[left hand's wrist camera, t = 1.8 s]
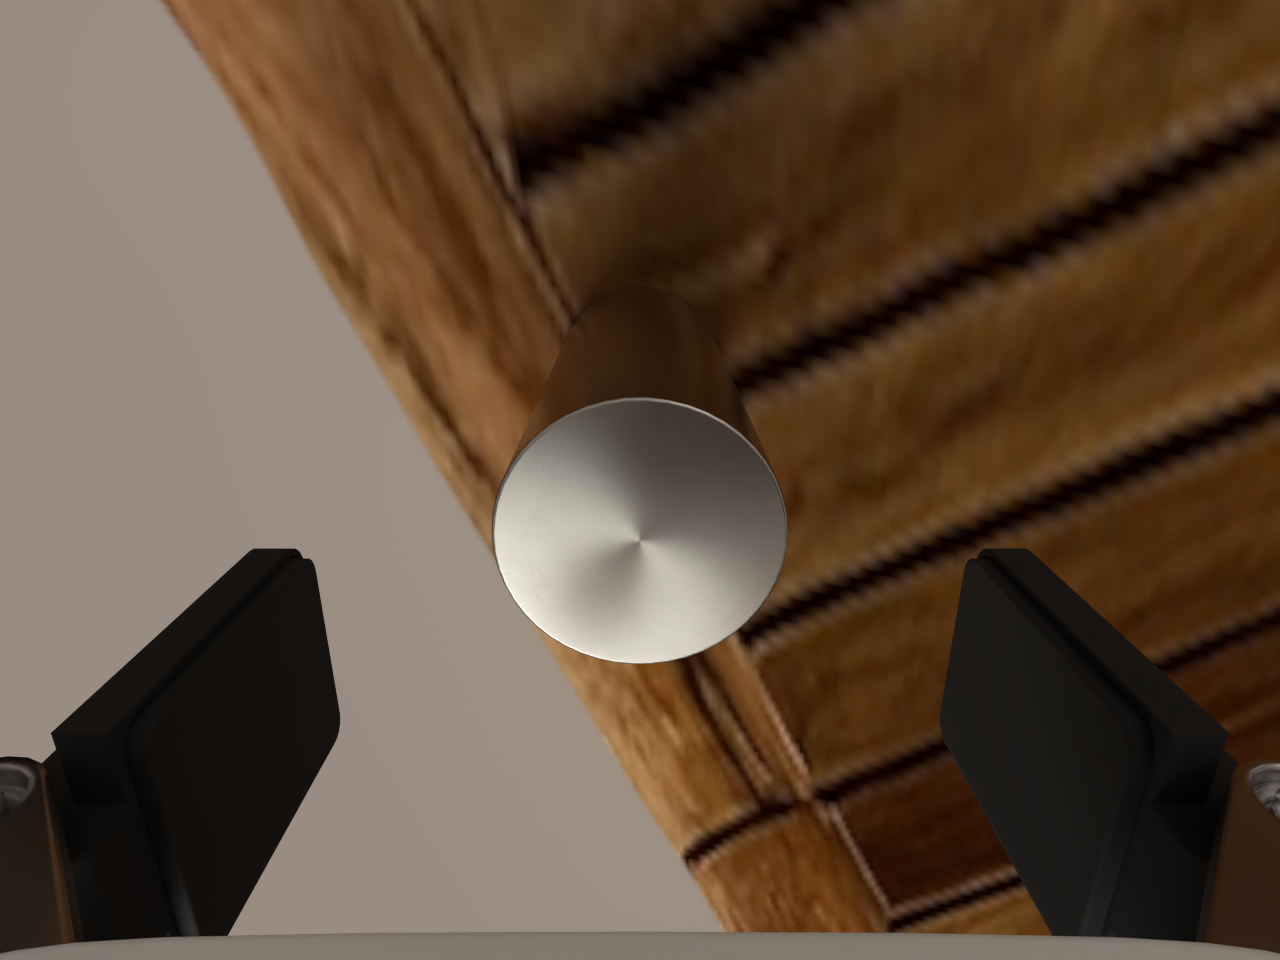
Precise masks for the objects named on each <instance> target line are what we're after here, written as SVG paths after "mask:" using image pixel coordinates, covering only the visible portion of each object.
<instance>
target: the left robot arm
mask: <svg viewBox="0 0 1280 960" xmlns="http://www.w3.org/2000/svg"><path fill="white" fill-rule="evenodd" d="M339 727H340V712H339V706H338V700H337V694H336V688H335V682H334V676H333V670H332V664H331V658H330V652H329V646H328V641H327V635H326V629H325V623H324V617H323V611H322V605H321V599H320V593H319V587H318V581H317V575H316V570H315V566H314V564H313V562H312V560H310V559H303V557H302V555H301V553H300V552H299V551H298V550H297V549H253V550H251V551H249V552H248V553H247V554H246V555H245V556H244V557H243V558H242V559H241V560H239V561H238V562H237V563H236V564H235V565H234V566H233V567H232V568H231V569H230V570H229V571H227V572H226V573H225V574H224V575H223V576H222V577H221V578H220V579H219V580H218V581H217V582H215V583H214V584H213V585H212V586H211V587H210V588H209V589H208V590H207V591H206V592H204V593H203V594H202V595H201V596H200V597H199V598H198V599H197V600H196V601H195V602H194V603H193V604H191V605H190V606H189V607H188V608H187V609H186V610H185V611H184V612H183V613H182V614H181V615H179V616H178V617H177V618H176V619H175V620H174V621H173V622H172V623H171V624H170V625H168V626H167V627H166V628H165V629H164V630H163V631H162V632H161V633H160V634H159V635H158V636H157V637H155V638H154V639H153V640H152V641H151V642H150V643H149V644H148V645H147V646H146V647H144V648H143V649H142V650H141V651H140V652H139V653H138V654H137V655H136V656H135V657H134V658H132V659H131V660H130V661H129V662H128V663H127V664H126V665H125V666H124V667H123V668H122V669H120V670H119V671H118V672H117V673H116V674H115V675H114V676H113V677H112V678H111V679H110V680H108V681H107V682H106V683H105V684H104V685H103V686H102V687H101V688H100V689H99V690H97V691H96V692H95V693H94V694H93V695H92V696H91V697H90V698H89V699H88V700H87V701H85V702H84V703H83V704H82V705H81V706H80V707H79V708H78V709H77V710H76V711H75V712H74V713H72V714H71V715H70V716H69V717H68V718H67V719H66V720H65V721H64V722H63V723H61V724H60V725H59V726H58V727H57V728H56V729H55V730H54V731H53V732H52V733H51V735H52V738H53V741H54V744H55V747H56V750H55V751H54V752H53V753H52V754H51V755H50V756H49V757H48V758H47V759H46V760H45V761H44V762H43V763H39V762H37V761H35V760H32V759H30V758H26V757H10V756H8V757H0V960H1280V757H1272V756H1270V757H1254V758H1250V759H1247V760H1245V761H1243V762H1241V763H1237V762H1236V761H1235V760H1234V759H1233V758H1232V757H1231V756H1230V755H1229V754H1228V753H1227V752H1226V751H1225V750H1224V747H1225V744H1226V741H1227V738H1228V735H1229V733H1228V732H1227V731H1226V730H1225V729H1224V728H1223V727H1222V726H1221V725H1220V724H1219V723H1217V722H1216V721H1215V720H1214V719H1213V718H1212V717H1211V716H1210V715H1209V714H1208V713H1207V712H1205V711H1204V710H1203V709H1202V708H1201V707H1200V706H1199V705H1198V704H1197V703H1196V702H1195V701H1193V700H1192V699H1191V698H1190V697H1189V696H1188V695H1187V694H1186V693H1185V692H1184V691H1183V690H1181V689H1180V688H1179V687H1178V686H1177V685H1176V684H1175V683H1174V682H1173V681H1172V680H1170V679H1169V678H1168V677H1167V676H1166V675H1165V674H1164V673H1163V672H1162V671H1161V670H1160V669H1158V668H1157V667H1156V666H1155V665H1154V664H1153V663H1152V662H1151V661H1150V660H1149V659H1148V658H1146V657H1145V656H1144V655H1143V654H1142V653H1141V652H1140V651H1139V650H1138V649H1137V648H1136V647H1134V646H1133V645H1132V644H1131V643H1130V642H1129V641H1128V640H1127V639H1126V638H1125V637H1124V636H1122V635H1121V634H1120V633H1119V632H1118V631H1117V630H1116V629H1115V628H1114V627H1113V626H1112V625H1110V624H1109V623H1108V622H1107V621H1106V620H1105V619H1104V618H1103V617H1102V616H1101V615H1100V614H1098V613H1097V612H1096V611H1095V610H1094V609H1093V608H1092V607H1091V606H1090V605H1089V604H1088V603H1086V602H1085V601H1084V600H1083V599H1082V598H1081V597H1080V596H1079V595H1078V594H1077V593H1076V592H1074V591H1073V590H1072V589H1071V588H1070V587H1069V586H1068V585H1067V584H1066V583H1065V582H1063V581H1062V580H1061V579H1060V578H1059V577H1058V576H1057V575H1056V574H1055V573H1054V572H1053V571H1051V570H1050V569H1049V568H1048V567H1047V566H1046V565H1045V564H1044V563H1043V562H1042V561H1041V560H1039V559H1038V558H1037V557H1036V556H1035V555H1034V554H1033V553H1032V552H1031V551H1029V550H1027V549H983V550H982V551H981V552H980V553H979V555H978V557H977V559H970V560H968V562H967V564H966V566H965V570H964V575H963V581H962V587H961V593H960V599H959V605H958V611H957V617H956V623H955V629H954V635H953V640H952V646H951V652H950V658H949V664H948V670H947V676H946V682H945V688H944V694H943V700H942V706H941V712H940V727H941V733H942V736H943V739H944V741H945V743H946V745H947V747H948V749H949V750H950V752H951V754H952V756H953V758H954V759H955V761H956V763H957V765H958V767H959V768H960V770H961V772H962V774H963V776H964V777H965V779H966V781H967V783H968V785H969V786H970V788H971V790H972V792H973V794H974V795H975V797H976V799H977V801H978V803H979V804H980V806H981V808H982V810H983V812H984V813H985V815H986V817H987V819H988V821H989V822H990V824H991V826H992V828H993V830H994V831H995V833H996V835H997V837H998V839H999V840H1000V842H1001V844H1002V846H1003V848H1004V849H1005V851H1006V853H1007V855H1008V857H1009V858H1010V860H1011V862H1012V864H1013V866H1014V867H1015V869H1016V871H1017V873H1018V875H1019V876H1020V878H1021V880H1022V882H1023V884H1024V885H1025V887H1026V889H1027V891H1028V893H1029V894H1030V896H1031V898H1032V900H1033V902H1034V903H1035V905H1036V907H1037V909H1038V911H1039V912H1040V914H1041V916H1042V918H1043V920H1044V921H1045V923H1046V925H1047V927H1048V929H1049V930H1050V932H1051V934H1052V936H1030V935H980V934H930V933H787V932H495V933H493V932H492V933H350V934H300V935H251V936H228V934H229V932H230V930H231V929H232V927H233V925H234V923H235V921H236V920H237V918H238V916H239V914H240V912H241V911H242V909H243V907H244V905H245V903H246V902H247V900H248V898H249V896H250V894H251V893H252V891H253V889H254V887H255V885H256V884H257V882H258V880H259V878H260V876H261V875H262V873H263V871H264V869H265V867H266V866H267V864H268V862H269V860H270V858H271V857H272V855H273V853H274V851H275V849H276V848H277V846H278V844H279V842H280V840H281V839H282V837H283V835H284V833H285V831H286V830H287V828H288V826H289V824H290V822H291V821H292V819H293V817H294V815H295V813H296V812H297V810H298V808H299V806H300V804H301V803H302V801H303V799H304V797H305V795H306V794H307V792H308V790H309V788H310V786H311V785H312V783H313V781H314V779H315V777H316V776H317V774H318V772H319V770H320V768H321V767H322V765H323V763H324V761H325V759H326V758H327V756H328V754H329V752H330V750H331V749H332V747H333V745H334V743H335V741H336V739H337V736H338V733H339Z"/></svg>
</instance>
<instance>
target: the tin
mask: <svg viewBox="0 0 1280 960" xmlns="http://www.w3.org/2000/svg"><path fill="white" fill-rule="evenodd" d="M787 540H788V520H787V510H786V506H785V501H784V497H783V493H782V491H781V488H780V486H779V483H778V481H777V478H776V476H775V473H774V471H773V469H772V467H771V465H770V462H769V460H768V458H767V456H766V453H765V451H764V449H763V447H762V445H761V442H760V440H759V438H758V436H757V433H756V431H755V429H754V427H753V425H752V422H751V420H750V418H749V416H748V413H747V411H746V409H745V407H744V405H743V402H742V400H741V398H740V396H739V393H738V391H737V389H736V387H735V385H734V382H733V380H732V378H731V376H730V373H729V371H728V369H727V367H726V365H725V362H724V360H723V358H722V356H721V353H720V351H719V349H718V347H717V345H716V342H715V340H714V338H713V336H712V333H711V331H710V329H709V328H708V326H707V324H706V322H705V321H704V320H703V318H702V317H701V316H700V315H699V313H698V312H697V311H696V310H695V309H694V308H693V307H692V306H690V305H689V304H688V303H686V302H685V301H684V300H682V299H680V298H678V297H677V296H675V295H673V294H670V293H668V292H665V291H662V290H658V289H653V288H644V287H640V288H628V289H622V290H618V291H615V292H612V293H610V294H607V295H605V296H603V297H601V298H600V299H598V300H597V301H595V302H593V303H592V304H591V305H590V306H589V307H587V308H586V309H585V310H584V311H583V312H582V314H581V315H580V316H579V317H578V318H577V320H576V321H575V323H574V324H573V326H572V328H571V330H570V331H569V333H568V336H567V338H566V340H565V342H564V344H563V347H562V349H561V351H560V353H559V356H558V358H557V360H556V362H555V364H554V367H553V369H552V371H551V373H550V376H549V378H548V380H547V382H546V384H545V387H544V389H543V391H542V393H541V395H540V398H539V400H538V402H537V404H536V407H535V409H534V411H533V413H532V415H531V418H530V420H529V422H528V424H527V427H526V429H525V431H524V433H523V435H522V438H521V440H520V442H519V444H518V447H517V449H516V451H515V453H514V455H513V458H512V460H511V462H510V464H509V466H508V469H507V471H506V473H505V475H504V478H503V480H502V482H501V485H500V488H499V491H498V494H497V497H496V500H495V505H494V511H493V516H492V541H493V550H494V555H495V559H496V563H497V567H498V569H499V572H500V574H501V577H502V579H503V582H504V584H505V586H506V588H507V589H508V591H509V593H510V594H511V596H512V598H513V600H514V601H515V602H516V603H517V605H518V606H519V608H520V609H521V610H522V611H523V613H524V614H525V615H526V616H527V617H528V618H529V619H530V620H531V621H532V622H533V623H534V624H535V625H536V626H537V627H539V628H540V629H541V630H542V631H544V632H545V633H546V634H547V635H549V636H550V637H552V638H553V639H555V640H557V641H558V642H560V643H562V644H563V645H565V646H567V647H569V648H571V649H573V650H576V651H578V652H580V653H583V654H586V655H589V656H592V657H595V658H598V659H603V660H607V661H612V662H619V663H629V664H653V663H660V662H668V661H673V660H677V659H681V658H685V657H689V656H691V655H694V654H697V653H700V652H702V651H705V650H707V649H709V648H711V647H713V646H715V645H717V644H719V643H720V642H722V641H723V640H725V639H726V638H728V637H730V636H731V635H733V634H734V633H735V632H736V631H738V630H739V629H740V628H741V627H742V626H744V625H745V624H746V623H747V622H748V621H749V620H750V619H751V618H752V617H753V616H754V615H755V613H756V612H757V611H758V610H759V609H760V608H761V606H762V605H763V603H764V602H765V601H766V599H767V598H768V596H769V595H770V593H771V591H772V589H773V587H774V585H775V583H776V581H777V580H778V577H779V574H780V571H781V569H782V566H783V563H784V559H785V554H786V549H787Z"/></svg>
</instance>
